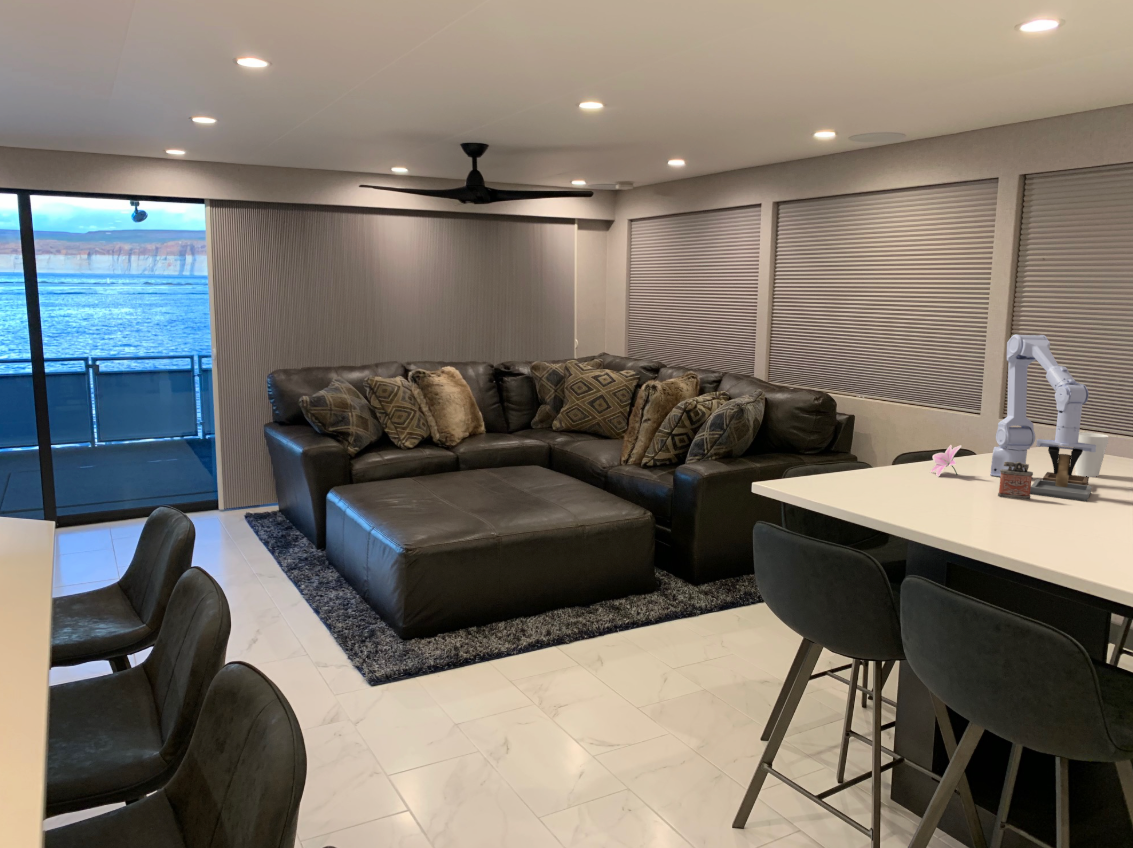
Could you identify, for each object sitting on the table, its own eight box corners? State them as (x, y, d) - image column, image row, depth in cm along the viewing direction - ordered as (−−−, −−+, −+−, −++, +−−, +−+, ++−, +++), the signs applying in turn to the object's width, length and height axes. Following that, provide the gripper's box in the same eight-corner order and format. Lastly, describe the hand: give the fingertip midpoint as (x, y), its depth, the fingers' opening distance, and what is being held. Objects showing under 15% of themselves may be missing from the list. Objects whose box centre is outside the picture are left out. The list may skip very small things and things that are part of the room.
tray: (1029, 494, 243) (1030, 487, 243) (1035, 485, 255) (1036, 479, 254) (1087, 501, 236) (1088, 494, 235) (1090, 492, 247) (1091, 486, 247)
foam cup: (1104, 479, 268) (1109, 438, 266) (1070, 475, 272) (1074, 435, 270) (1103, 474, 276) (1108, 434, 274) (1069, 470, 280) (1074, 431, 278)
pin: (1054, 486, 244) (1058, 454, 243) (1055, 484, 247) (1059, 453, 246) (1066, 487, 243) (1070, 456, 241) (1067, 485, 245) (1071, 454, 244)
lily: (932, 472, 277) (922, 447, 274) (971, 462, 271) (960, 436, 269) (933, 491, 267) (922, 465, 264) (973, 480, 261) (962, 454, 259)
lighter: (1029, 497, 239) (1032, 462, 237) (1031, 500, 236) (1035, 464, 234) (996, 494, 241) (1000, 459, 240) (998, 497, 238) (1002, 461, 237)
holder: (1042, 485, 255) (1043, 477, 255) (1046, 479, 264) (1047, 471, 264) (1085, 491, 249) (1086, 482, 249) (1087, 485, 258) (1088, 476, 258)
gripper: (1037, 425, 243) (1032, 472, 245) (1097, 431, 235) (1091, 479, 237) (1040, 423, 249) (1035, 469, 251) (1098, 428, 241) (1093, 476, 243)
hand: (1062, 474), depth 244 cm, fingers closed on pin, 3 cm apart
